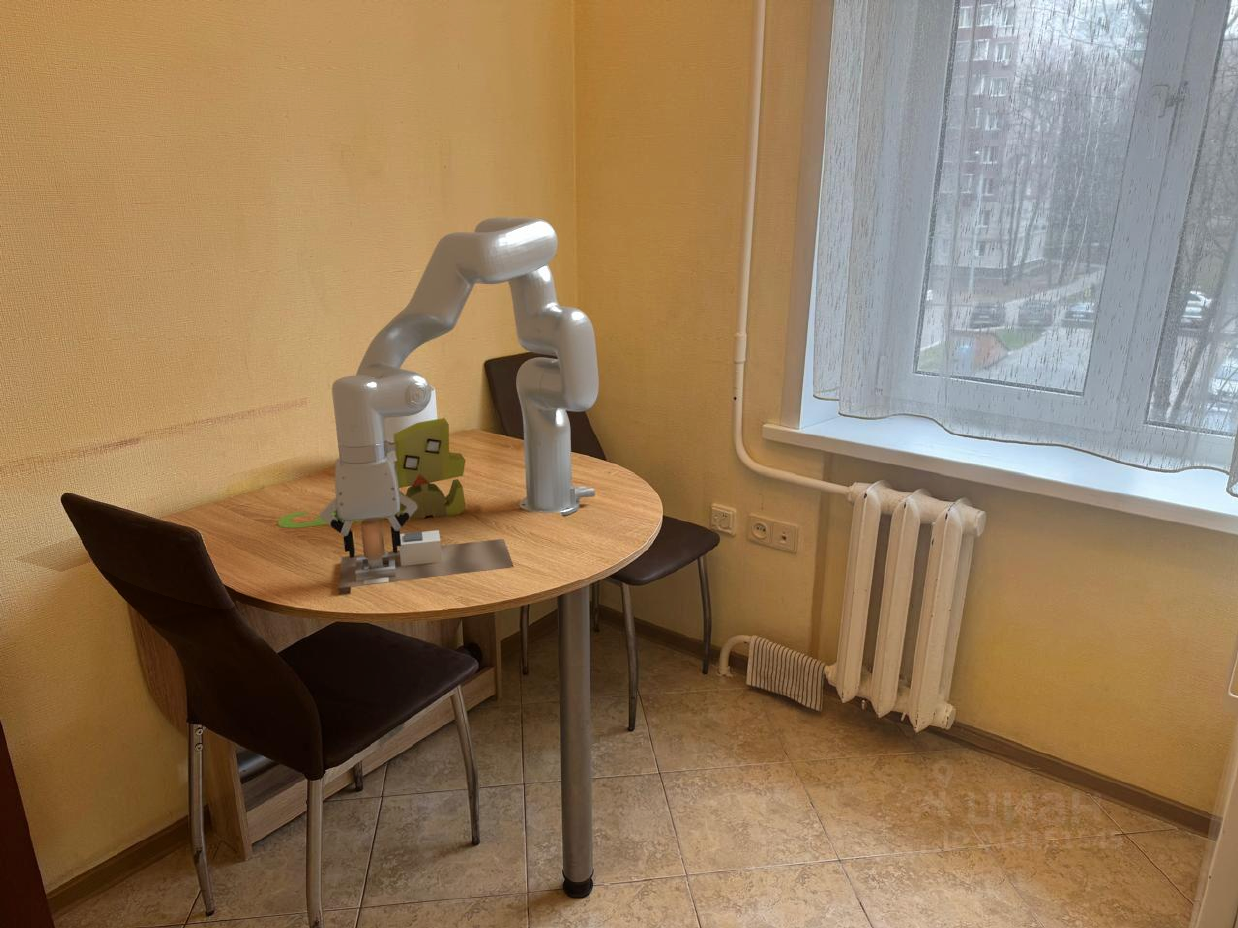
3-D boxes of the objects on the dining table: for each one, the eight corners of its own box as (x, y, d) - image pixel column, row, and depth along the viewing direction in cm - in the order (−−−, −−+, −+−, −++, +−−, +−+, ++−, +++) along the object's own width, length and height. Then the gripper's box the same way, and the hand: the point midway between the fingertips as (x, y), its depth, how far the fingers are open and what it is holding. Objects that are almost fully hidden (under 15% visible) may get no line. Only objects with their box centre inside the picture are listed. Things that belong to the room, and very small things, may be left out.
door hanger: (403, 502, 179) (280, 515, 172) (403, 500, 179) (279, 513, 172) (405, 517, 170) (275, 532, 164) (405, 515, 170) (275, 529, 163)
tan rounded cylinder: (386, 565, 144) (381, 517, 141) (386, 573, 141) (381, 524, 138) (366, 567, 143) (360, 519, 141) (365, 575, 140) (360, 526, 137)
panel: (503, 544, 156) (503, 531, 155) (514, 573, 144) (513, 558, 143) (342, 562, 148) (340, 549, 148) (339, 594, 136) (337, 579, 136)
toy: (389, 529, 164) (380, 431, 158) (387, 519, 169) (377, 424, 163) (469, 518, 169) (463, 423, 163) (464, 508, 174) (458, 416, 168)
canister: (379, 467, 201) (371, 387, 195) (435, 460, 206) (429, 382, 200) (387, 484, 189) (379, 399, 183) (446, 476, 194) (440, 393, 188)
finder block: (440, 550, 150) (438, 528, 149) (442, 561, 146) (440, 538, 144) (400, 554, 149) (398, 532, 147) (401, 566, 144) (399, 542, 143)
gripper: (416, 441, 141) (424, 538, 147) (309, 449, 137) (321, 549, 142) (418, 453, 134) (427, 555, 140) (305, 463, 130) (318, 567, 135)
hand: (373, 551), depth 141 cm, fingers open, 6 cm apart
